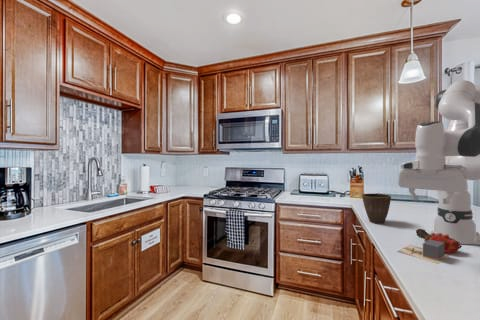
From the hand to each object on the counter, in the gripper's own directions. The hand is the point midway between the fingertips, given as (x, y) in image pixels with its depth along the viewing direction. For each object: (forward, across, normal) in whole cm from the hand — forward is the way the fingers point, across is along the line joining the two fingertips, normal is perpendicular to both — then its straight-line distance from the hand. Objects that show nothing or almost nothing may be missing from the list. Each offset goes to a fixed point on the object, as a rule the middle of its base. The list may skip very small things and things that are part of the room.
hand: (430, 201), depth 88 cm
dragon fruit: (+22, 0, -11) cm, 24 cm away
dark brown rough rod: (+22, +6, -21) cm, 31 cm away
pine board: (+22, +3, -1) cm, 22 cm away
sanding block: (+20, -1, -1) cm, 20 cm away
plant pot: (+22, +38, -37) cm, 57 cm away
